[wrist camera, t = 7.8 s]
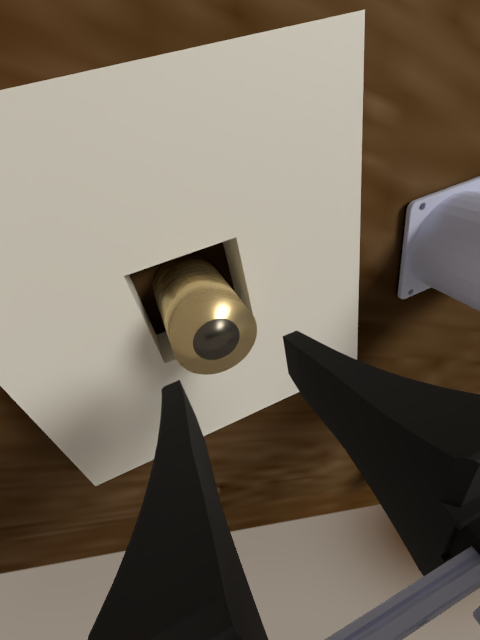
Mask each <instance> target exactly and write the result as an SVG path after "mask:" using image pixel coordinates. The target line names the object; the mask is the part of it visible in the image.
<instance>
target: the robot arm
mask: <svg viewBox="0 0 480 640" xmlns="http://www.w3.org/2000/svg"><path fill="white" fill-rule="evenodd" d="M420 205H421V206H420ZM431 287H432V288H434V289H436V290H438V291H440V292H442V293H444V294H446V295H448V296H450V297H452V298H454V299H456V300H458V301H460V302H462V303H464V304H466V305H468V306H470V307H472V308H474V309H476V310H478V311H480V176H479V177H476V178H474V179H471V180H468V181H465V182H463V183H460V184H457V185H454V186H452V187H449V188H446V189H443V190H441V191H438V192H435V193H432V194H430V195H427V196H424V197H421V198H419V199H416V200H413V201H412V202H410V204H409V205H408V207H407V212H406V221H405V230H404V240H403V249H402V258H401V268H400V277H399V286H398V297H399V298H401V299H406V298H408V297H410V296H413V295H415V294H417V293H420V292H422V291H424V290H427V289H429V288H431ZM283 342H284V348H285V355H286V361H287V367H288V374H289V375H290V377H291V379H292V380H293V382H294V384H295V385H296V387H297V388H298V390H299V391H300V393H301V395H302V396H303V397H304V398H305V400H306V401H307V402H308V403H309V405H310V406H311V407H312V408H313V410H314V411H315V412H316V413H317V415H318V416H319V417H320V418H321V420H322V421H323V422H324V423H325V424H326V426H327V427H328V428H329V429H330V431H331V432H332V433H333V434H334V435H335V437H336V438H337V439H338V440H339V442H340V443H341V444H342V446H343V447H344V448H345V450H346V451H347V453H348V454H349V456H350V457H351V459H352V460H353V462H354V463H355V465H356V466H357V468H358V469H359V471H360V472H361V474H362V476H363V477H364V479H365V480H366V482H367V483H368V485H369V486H370V488H371V490H372V491H373V493H374V494H375V496H376V497H377V499H378V501H379V502H380V504H381V505H382V507H383V509H384V510H385V512H386V514H387V515H388V517H389V518H390V520H391V522H392V524H393V525H394V527H395V528H396V530H397V532H398V534H399V535H400V537H401V539H402V541H403V542H404V544H405V546H406V547H407V549H408V551H409V552H410V554H411V556H412V558H413V560H414V561H415V563H416V565H417V566H418V568H419V570H420V571H421V573H422V574H423V576H424V577H422V578H421V579H419V580H418V581H416V582H414V583H413V584H412V585H410V586H408V587H406V588H405V589H403V590H402V591H400V592H399V593H397V594H396V595H394V596H393V597H391V598H389V599H388V600H386V601H385V602H383V603H381V604H380V605H378V606H377V607H376V608H374V609H372V610H371V611H369V612H367V613H366V614H364V615H363V616H361V617H359V618H358V619H356V620H355V621H353V622H352V623H350V624H349V625H347V626H345V627H344V628H342V629H341V630H339V631H338V632H336V633H334V634H333V635H331V636H330V637H328V638H326V639H325V640H402V639H404V638H405V637H407V636H408V635H410V634H411V633H413V632H414V631H416V630H417V629H419V628H420V627H422V626H423V625H424V624H426V623H428V622H429V621H431V620H432V619H434V618H435V617H437V616H438V615H439V614H441V613H443V612H444V611H446V610H447V609H449V608H450V607H451V606H453V605H454V604H456V603H457V602H459V601H460V600H462V599H463V598H465V597H466V596H468V595H469V594H471V593H472V592H474V591H475V590H476V589H478V588H480V395H479V394H473V393H468V392H463V391H458V390H452V389H448V388H443V387H439V386H435V385H431V384H427V383H423V382H419V381H415V380H412V379H408V378H405V377H402V376H399V375H396V374H393V373H390V372H387V371H384V370H381V369H378V368H375V367H373V366H370V365H368V364H365V363H363V362H360V361H358V360H356V359H354V358H351V357H349V356H347V355H345V354H343V353H341V352H338V351H336V350H334V349H332V348H330V347H328V346H326V345H324V344H322V343H320V342H318V341H316V340H314V339H313V338H311V337H309V336H307V335H305V334H303V333H301V332H299V331H294V332H292V333H289V334H287V335H285V336H283ZM161 392H162V404H161V418H160V426H159V434H158V441H157V446H156V451H155V457H154V462H153V467H152V471H151V475H150V479H149V483H148V487H147V490H146V494H145V497H144V501H143V504H142V507H141V510H140V513H139V516H138V520H137V523H136V525H135V528H134V531H133V534H132V537H131V539H130V542H129V545H128V547H127V550H126V552H125V555H124V557H123V560H122V562H121V565H120V567H119V570H118V572H117V575H116V577H115V579H114V582H113V584H112V587H111V589H110V591H109V593H108V595H107V597H106V600H105V601H104V604H103V606H102V608H101V611H100V612H99V614H98V617H97V619H96V621H95V623H94V625H93V628H92V630H91V632H90V634H89V636H88V640H268V638H267V635H266V632H265V630H264V627H263V624H262V621H261V618H260V616H259V613H258V610H257V607H256V605H255V602H254V599H253V596H252V593H251V591H250V588H249V585H248V582H247V579H246V576H245V574H244V571H243V568H242V565H241V562H240V559H239V556H238V553H237V551H236V548H235V545H234V542H233V539H232V536H231V533H230V530H229V528H228V525H227V522H226V519H225V516H224V513H223V510H222V506H221V503H220V499H219V495H218V491H217V487H216V483H215V479H214V475H213V471H212V467H211V463H210V459H209V455H208V451H207V447H206V443H205V440H204V437H203V434H202V431H201V428H200V426H199V423H198V420H197V417H196V415H195V413H194V410H193V408H192V406H191V404H190V402H189V399H188V397H187V395H186V393H185V390H184V388H183V386H182V384H181V382H180V380H178V381H176V382H173V383H171V384H169V385H166V386H164V387H163V388H162V390H161ZM473 616H474V618H475V619H476V620H477V622H478V623H479V624H480V606H479V607H478V608H477V609H476V610H475V611H474V612H473Z"/></svg>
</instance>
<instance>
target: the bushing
mask: <svg viewBox="0 0 480 640" xmlns="http://www.w3.org/2000/svg"><path fill="white" fill-rule="evenodd" d="M153 293H154V296H155V299H156V302H157V305H158V308H159V311H160V314H161V317H162V320H163V323H164V326H165V329H166V332H167V335H168V338H169V341H170V344H171V347H172V350H173V353H174V356H175V358H176V360H177V361H178V363H179V364H180V365H181V366H182V367H183V368H185V369H186V370H188V371H190V372H193V373H196V374H202V375H210V374H217V373H220V372H224V371H226V370H228V369H230V368H232V367H234V366H235V365H237V364H238V363H239V362H241V361H242V360H243V359H244V358H245V357H246V356H247V355H248V353H249V352H250V350H251V349H252V347H253V345H254V343H255V340H256V336H257V324H256V320H255V318H254V316H253V314H252V313H251V312H250V310H249V309H248V308H247V307H246V305H245V304H244V303H243V302H242V300H241V299H240V298H239V297H238V295H237V294H236V293H235V292H234V290H233V289H232V288H231V287H230V286H229V284H228V283H227V282H226V281H225V279H224V278H223V277H222V276H221V274H220V273H219V272H218V271H217V269H216V268H215V267H214V266H213V265H212V263H211V262H210V261H209V260H207V259H206V258H204V257H202V256H200V255H197V254H190V253H189V254H186V255H183V256H181V257H178V258H175V259H172V260H169V261H166V262H164V263H163V264H162V265H161V266H160V267H159V269H158V270H157V272H156V274H155V277H154V280H153Z"/></svg>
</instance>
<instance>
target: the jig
mask: <svg viewBox="0 0 480 640" xmlns="http://www.w3.org/2000/svg"><path fill="white" fill-rule="evenodd" d="M364 25H365V10H361V11H357V12H352V13H348V14H343V15H339V16H334V17H330V18H325V19H321V20H316V21H312V22H307V23H302V24H298V25H293V26H289V27H284V28H280V29H275V30H271V31H266V32H262V33H257V34H253V35H248V36H244V37H239V38H235V39H230V40H226V41H221V42H217V43H212V44H207V45H203V46H198V47H194V48H189V49H185V50H180V51H176V52H171V53H167V54H162V55H158V56H153V57H149V58H144V59H140V60H135V61H131V62H126V63H122V64H117V65H112V66H108V67H103V68H99V69H94V70H90V71H85V72H81V73H76V74H72V75H67V76H63V77H58V78H54V79H49V80H45V81H40V82H36V83H31V84H27V85H22V86H17V87H13V88H8V89H4V90H0V386H1V387H2V388H3V389H4V390H5V391H6V392H7V393H8V394H9V395H10V397H11V398H12V399H13V400H14V401H15V402H16V403H17V404H18V405H19V406H20V407H21V408H22V409H23V410H24V411H25V412H26V413H27V414H28V416H29V417H30V418H31V419H32V420H33V421H34V422H35V423H36V424H37V425H38V426H39V427H40V428H41V429H42V430H43V431H44V432H45V433H46V435H47V436H48V437H49V438H50V439H51V440H52V441H53V442H54V443H55V444H56V445H57V446H58V447H59V448H60V449H61V450H62V451H63V453H64V454H65V455H66V456H67V457H68V458H69V459H70V460H71V461H72V462H73V463H74V464H75V465H76V466H77V467H78V468H79V469H80V470H81V472H82V473H83V474H84V475H85V476H86V477H87V478H88V479H89V480H90V481H91V482H92V483H93V484H94V485H95V486H97V485H99V484H101V483H104V482H106V481H108V480H110V479H112V478H114V477H117V476H119V475H121V474H123V473H125V472H127V471H129V470H132V469H134V468H136V467H138V466H140V465H142V464H145V463H147V462H149V461H151V460H153V459H154V457H155V451H156V446H157V441H158V434H159V426H160V418H161V404H162V392H161V390H162V388H163V387H164V386H166V385H169V384H171V383H173V382H176V381H178V380H180V382H181V384H182V386H183V388H184V390H185V393H186V395H187V397H188V399H189V402H190V404H191V406H192V408H193V410H194V413H195V415H196V417H197V420H198V423H199V426H200V428H201V431H202V434H203V436H205V435H207V434H209V433H211V432H214V431H216V430H218V429H220V428H222V427H224V426H227V425H229V424H231V423H233V422H235V421H237V420H240V419H242V418H244V417H246V416H248V415H250V414H252V413H255V412H257V411H259V410H261V409H263V408H265V407H268V406H270V405H272V404H274V403H276V402H278V401H281V400H283V399H285V398H287V397H289V396H291V395H293V394H296V393H298V392H300V391H299V390H298V388H297V387H296V385H295V384H294V382H293V380H292V379H291V377H290V375H289V374H288V367H287V361H286V355H285V348H284V342H283V336H285V335H287V334H289V333H292V332H294V331H299V332H301V333H303V334H305V335H307V336H309V337H311V338H313V339H314V340H316V341H318V342H320V343H322V344H324V345H326V346H328V347H330V348H332V349H334V350H336V351H338V352H341V353H343V354H345V355H347V356H349V357H351V358H354V359H356V360H357V344H358V299H359V253H360V207H361V162H362V116H363V70H364ZM221 242H223V246H224V250H225V254H226V258H227V262H228V266H229V270H230V274H231V278H232V282H233V286H234V290H235V293H236V294H237V295H238V297H239V298H240V299H241V300H242V302H243V303H244V304H245V305H246V307H247V308H248V309H249V310H250V312H251V313H252V314H253V316H254V318H255V320H256V324H257V336H256V340H255V343H254V345H253V347H252V349H251V350H250V352H249V353H248V355H247V356H246V357H245V358H244V359H243V360H242V361H241V362H239V363H238V364H237V365H235V366H234V367H232V368H230V369H228V370H226V371H224V372H220V373H217V374H210V375H202V374H196V373H193V372H190V371H188V370H186V369H185V368H183V367H182V366H181V365H180V364H179V363H178V361H177V360H176V358H175V356H174V353H173V350H172V347H171V344H170V341H169V338H168V335H167V332H166V331H165V332H163V333H160V334H158V335H156V333H155V331H154V328H153V326H152V324H151V322H150V320H149V317H148V315H147V313H146V311H145V309H144V307H143V304H142V302H141V300H140V298H139V296H138V293H137V291H136V289H135V287H134V285H133V283H132V280H131V278H130V276H129V274H132V273H134V272H137V271H140V270H143V269H146V268H149V267H152V266H155V265H157V264H160V263H163V262H166V261H169V260H172V259H175V258H178V257H181V256H183V255H186V254H189V253H192V252H195V251H198V250H201V249H204V248H206V247H209V246H212V245H215V244H218V243H221Z"/></svg>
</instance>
